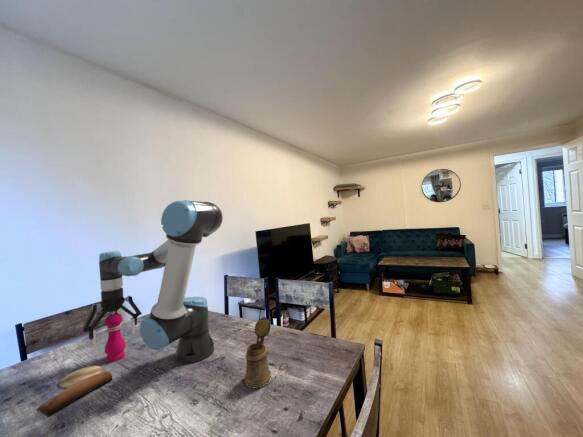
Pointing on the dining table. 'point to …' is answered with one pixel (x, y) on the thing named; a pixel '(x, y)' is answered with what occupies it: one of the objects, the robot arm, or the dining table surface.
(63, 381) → the coaster
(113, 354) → the pepper mill
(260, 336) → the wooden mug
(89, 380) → the sunglasses case
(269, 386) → the dining table surface
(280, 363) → the dining table surface
